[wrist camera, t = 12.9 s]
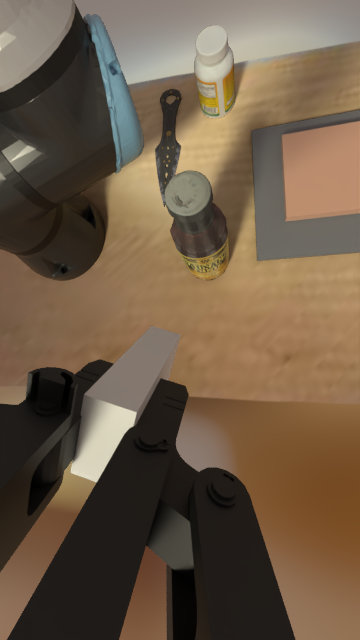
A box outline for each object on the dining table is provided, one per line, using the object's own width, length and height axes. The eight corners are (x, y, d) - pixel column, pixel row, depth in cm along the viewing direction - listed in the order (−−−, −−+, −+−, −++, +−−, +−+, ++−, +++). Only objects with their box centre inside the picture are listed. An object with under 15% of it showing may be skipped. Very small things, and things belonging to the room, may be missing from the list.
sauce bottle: (192, 285, 42) (149, 239, 23) (186, 247, 43) (139, 171, 24) (235, 277, 41) (226, 220, 22) (228, 237, 42) (214, 148, 22)
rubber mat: (398, 249, 36) (400, 247, 36) (257, 260, 41) (257, 259, 40) (385, 108, 38) (388, 104, 38) (251, 133, 42) (251, 130, 42)
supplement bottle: (206, 125, 44) (196, 67, 35) (197, 97, 45) (184, 33, 35) (239, 111, 43) (238, 47, 34) (229, 82, 44) (225, 11, 34)
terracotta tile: (368, 207, 36) (361, 120, 37) (286, 217, 38) (282, 134, 39) (363, 213, 37) (356, 130, 38) (284, 222, 39) (280, 143, 40)
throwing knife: (184, 90, 46) (183, 87, 45) (178, 207, 44) (177, 205, 44) (159, 94, 47) (158, 90, 46) (152, 209, 45) (151, 207, 45)
